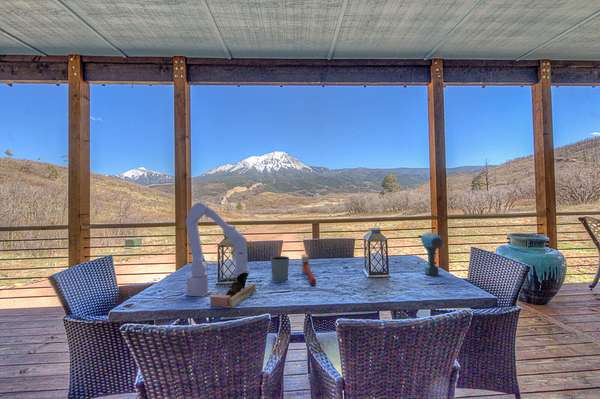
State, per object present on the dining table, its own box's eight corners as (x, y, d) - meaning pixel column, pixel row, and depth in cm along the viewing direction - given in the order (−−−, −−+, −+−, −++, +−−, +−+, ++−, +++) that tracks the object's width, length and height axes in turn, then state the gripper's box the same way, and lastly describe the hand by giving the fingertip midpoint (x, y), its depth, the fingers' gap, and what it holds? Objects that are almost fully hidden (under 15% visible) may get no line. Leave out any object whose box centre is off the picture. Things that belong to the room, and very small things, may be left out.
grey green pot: (267, 279, 169) (267, 257, 169) (281, 275, 176) (281, 255, 176) (278, 283, 161) (278, 260, 161) (293, 279, 168) (292, 257, 168)
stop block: (210, 306, 130) (210, 296, 130) (214, 303, 133) (214, 294, 133) (227, 307, 128) (227, 298, 128) (231, 304, 131) (230, 295, 131)
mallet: (316, 273, 155) (307, 253, 184) (310, 274, 154) (301, 254, 184) (316, 293, 157) (307, 270, 186) (310, 293, 156) (301, 270, 185)
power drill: (412, 266, 190) (411, 229, 189) (426, 266, 189) (425, 229, 189) (430, 279, 162) (429, 235, 161) (447, 278, 161) (446, 235, 161)
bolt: (227, 306, 134) (236, 294, 149) (237, 300, 133) (244, 288, 148) (220, 295, 134) (229, 284, 149) (230, 289, 133) (238, 278, 148)
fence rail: (228, 307, 128) (228, 299, 128) (251, 290, 150) (251, 283, 150) (232, 307, 127) (232, 299, 127) (255, 290, 149) (255, 283, 149)
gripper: (242, 264, 142) (243, 293, 142) (254, 258, 156) (255, 284, 156) (228, 263, 144) (229, 292, 144) (242, 257, 158) (243, 283, 158)
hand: (242, 288), depth 150 cm, fingers closed
